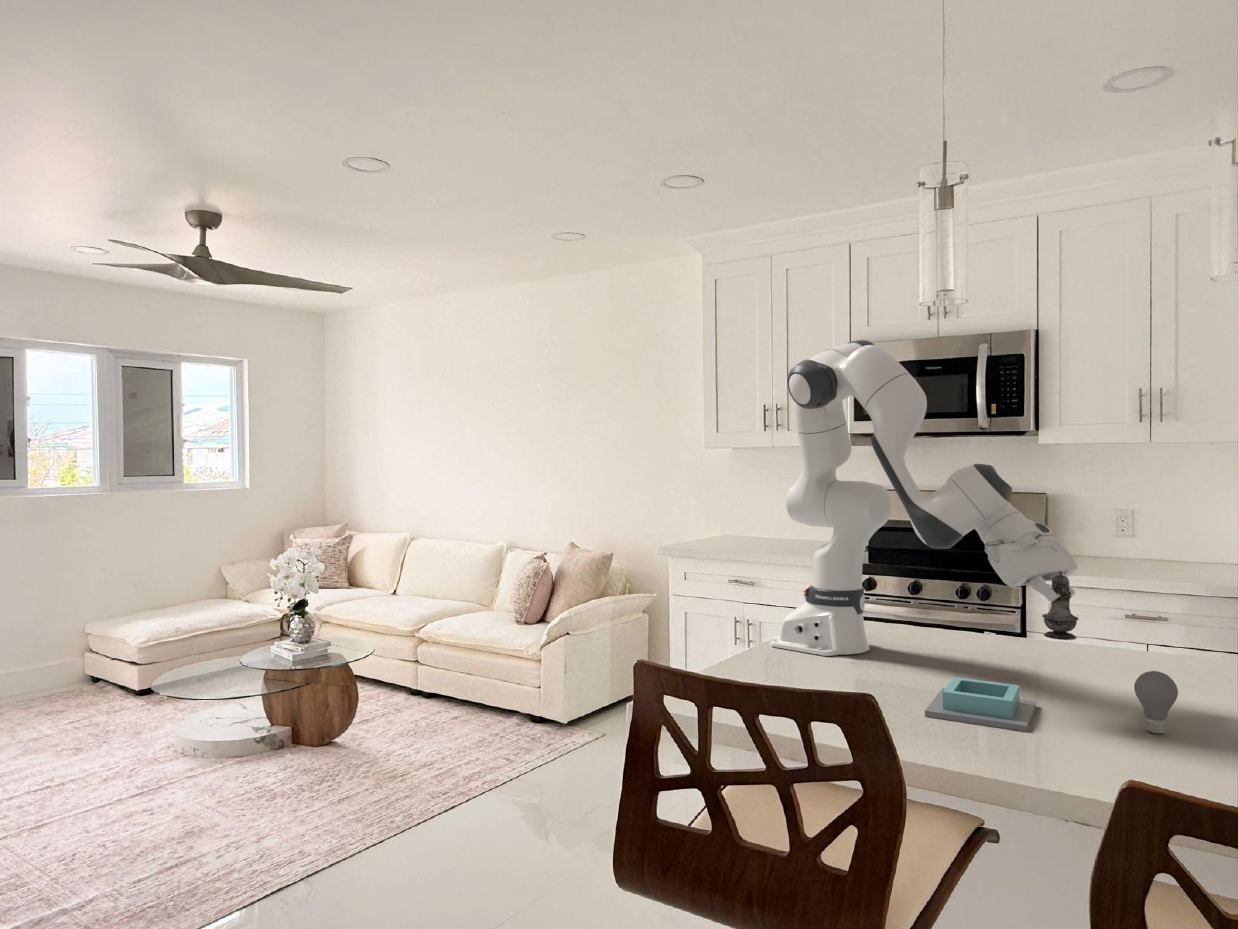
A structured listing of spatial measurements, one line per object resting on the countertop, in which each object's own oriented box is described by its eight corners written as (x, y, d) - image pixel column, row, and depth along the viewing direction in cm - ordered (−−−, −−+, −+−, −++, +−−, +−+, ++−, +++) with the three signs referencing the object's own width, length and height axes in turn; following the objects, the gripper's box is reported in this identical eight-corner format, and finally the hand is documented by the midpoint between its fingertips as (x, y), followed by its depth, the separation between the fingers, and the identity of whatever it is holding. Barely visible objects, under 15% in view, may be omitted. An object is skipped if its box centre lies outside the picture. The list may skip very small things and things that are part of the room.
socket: (924, 716, 147) (924, 693, 147) (942, 693, 161) (942, 672, 161) (1026, 731, 139) (1026, 707, 139) (1036, 706, 152) (1036, 684, 152)
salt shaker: (1036, 636, 154) (1037, 570, 154) (1049, 631, 158) (1050, 567, 157) (1070, 642, 149) (1071, 574, 149) (1083, 636, 153) (1084, 570, 153)
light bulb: (1168, 741, 134) (1168, 678, 134) (1127, 731, 139) (1127, 670, 138) (1184, 734, 137) (1184, 672, 137) (1143, 724, 142) (1144, 665, 142)
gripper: (991, 531, 153) (1044, 593, 145) (1052, 525, 165) (1104, 582, 157) (969, 554, 157) (1019, 615, 149) (1030, 546, 168) (1079, 602, 160)
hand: (1063, 598), depth 153 cm, fingers closed on salt shaker, 4 cm apart
